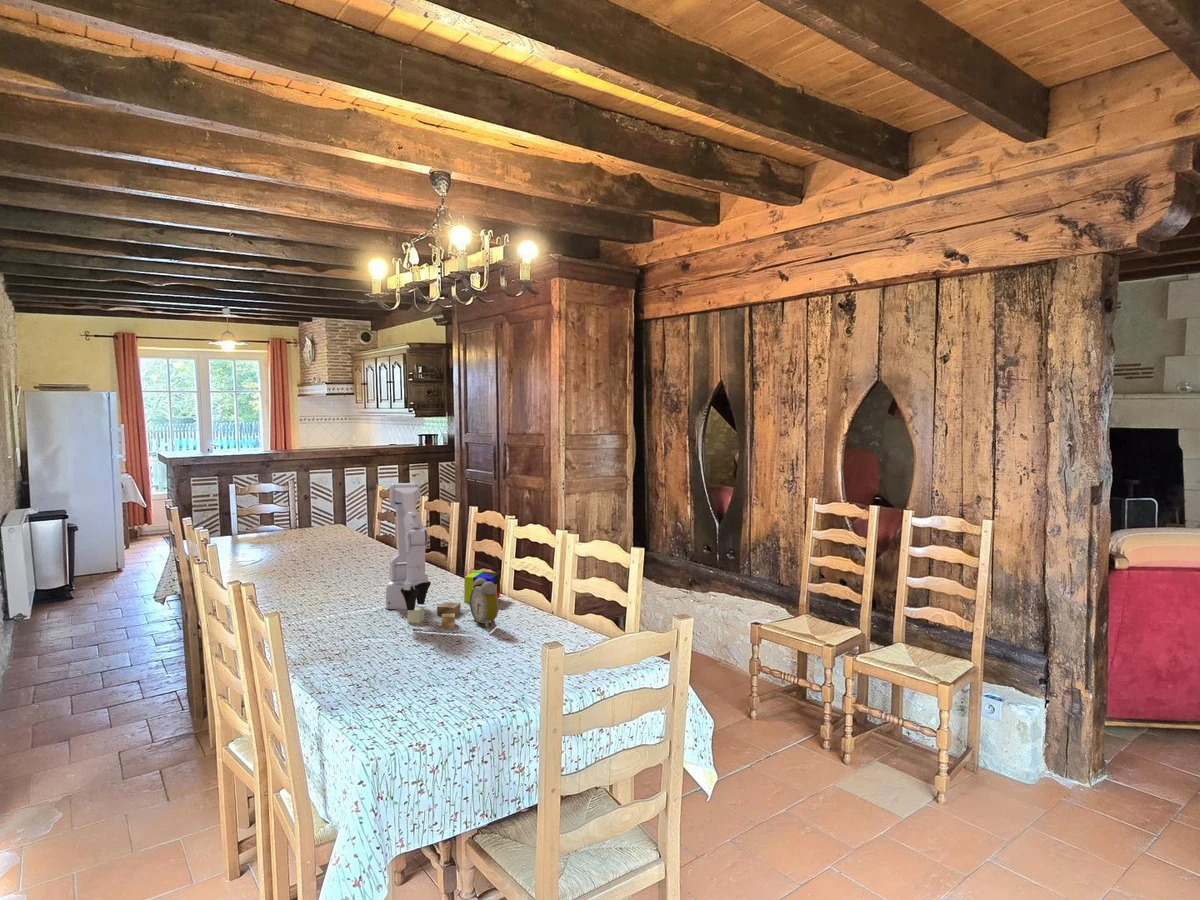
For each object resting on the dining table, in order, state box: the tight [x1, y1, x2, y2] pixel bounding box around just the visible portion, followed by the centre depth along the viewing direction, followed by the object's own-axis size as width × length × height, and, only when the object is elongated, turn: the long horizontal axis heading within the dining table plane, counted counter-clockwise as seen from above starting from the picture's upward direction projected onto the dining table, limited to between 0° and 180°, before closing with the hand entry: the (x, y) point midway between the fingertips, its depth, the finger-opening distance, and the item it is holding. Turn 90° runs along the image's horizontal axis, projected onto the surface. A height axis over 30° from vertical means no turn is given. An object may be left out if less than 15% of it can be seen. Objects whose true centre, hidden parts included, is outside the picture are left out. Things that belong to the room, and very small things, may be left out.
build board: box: [425, 608, 471, 621], centre depth 241 cm, size 12×12×1 cm
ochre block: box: [441, 614, 456, 629], centre depth 228 cm, size 4×4×4 cm
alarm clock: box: [469, 578, 500, 629], centre depth 231 cm, size 12×7×15 cm, turn 35°
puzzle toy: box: [463, 570, 501, 604], centre depth 260 cm, size 10×10×10 cm
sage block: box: [406, 605, 425, 624], centre depth 232 cm, size 4×4×5 cm
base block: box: [436, 601, 461, 616], centre depth 241 cm, size 6×6×3 cm
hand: (415, 606), depth 232 cm, fingers open, 7 cm apart
